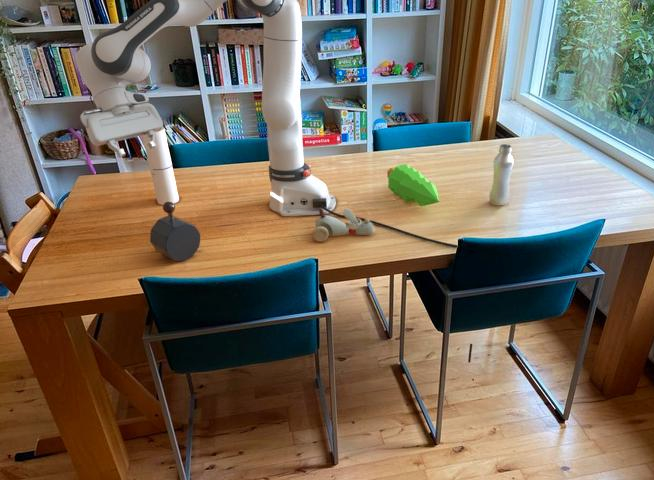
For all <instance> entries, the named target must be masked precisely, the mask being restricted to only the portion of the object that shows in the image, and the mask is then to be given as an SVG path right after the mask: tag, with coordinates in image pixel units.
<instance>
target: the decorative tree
mask: <svg viewBox="0 0 654 480" xmlns="http://www.w3.org/2000/svg"><path fill="white" fill-rule="evenodd" d="M386 171H387V172H386V174H387V175H386V177H387V178H388V181H387V182H388V183H387V184H388V185H387V187H388V189H389V190H390V191H391V192H392V193H393V194H395V195H397V196H398V197H399V198H400V199H402V200H403V201H404V202H405V203H411V202H412V203H415V204H417V205H418V206H419V207H421V208H422V207H425V206H430V205H434V204H436V203H440V199H439V198H440V197H439V193H438V190H437V186H436V185H435V184H434V183H432V181H429V180H428V179H427V178H426V177H425V176H424V175H423V174H422V173H421V172H420V171H417V170H416V169H415V168H414V167H411V166H410V165H409V164H408V163H405V164H400V165H396V166H395V167H390V168H389V169H388V170H386Z"/></svg>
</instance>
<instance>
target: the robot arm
mask: <svg viewBox="0 0 654 480" xmlns="http://www.w3.org/2000/svg"><path fill="white" fill-rule="evenodd" d="M227 1H228V0H149V1H147V3H145V4H144V5H142V6H141V7H140V8H138V10H136V11H135V12H134V13H133V14H132V15H130V16H129V17H128V18H127V19H125V20H124V21H122V23H121V24H119V25H118V26H116V27H114V28H112V29H109V30H107V31H104V32H102V33H101V32H100V33H99V35H97V36H96V37H95V38H94V39H93V42H90V43H87V44H85V45H83V46H81V47H80V48H79V49H78V50H77V52H76V54H75V62H76V66H77V69H78V72H79V74H80V76H81V78H82V81H83V83H84V85H85V86H86V88H87V89H88V90H89V91H90V93H91V96H92V100H93V103H94V104H95V106H96V108H93V109H90V110H89V109H86V110H83V111H82V113H81V114H80V116H79V120H80V121H81V123H82V125H83V126H84V127H85V130H86V133H87V136H88V138H89V140H90V143H91V144H92V145H94V146H95V147H99V146H103V145H107V147H108V148H109V149H110V150H112V151H113V152H114V153H115V154H116V156H117V157H118V159H120V158H124V157H125V156H126V155H127V154H126V152H125V150H124V148H120V147H118V146H117V145H116V143H117V142H119V141H124V140H128V139H132V138H138V137H141V136H142V135H146V134H147V136H148V138H149V137H150V142H149V143H148V146H149V147H150V149H155V148H156V147H157V145H156V143H155V132H158V131H160V130H161V129H162V127H164V121H163V119H162V117H161V115H160V114H159V111H158V110H157V109H156V107H155V106H154V105H153V104H152V103H150V102H149V101H150V98H149V96H148V95H147V94H145V93H139V92H132V91H128V90H127V89H126V86H127V87H128V86H132V85H136V84H138V83H142V82H144V81H145V80H146V79H147V78H148V77H149V76H150V74H151V72H152V60H151V59H150V56H149V55H148V53H146V51H145V50H143V49H142V48H140V47H141V46H142V45H144V44H145V43H146V42H147V41H148V40H150V39H151V38H152V37H153V36H155V35H156V34H157V33H158V32H159V31H161V30H162V29H164V28H167V27H172V26H173V27H175V26H177V27H178V26H180V27H186V28H193V27H197V26H198V25H200V24H202V23H203V22H205V21H206V20H207V19H208V18H209V17H211V16H212V15H213V13H214V12H216V10H217V9H219V7H220V6H221V5H222V4H224V3H225V2H227ZM235 1H236V2H238V3H239V4H240V5H241V6H242V7H243V8H245V9H248V10H249V11H252V12H254V13H257V14H260V15H261V17H262V23H263V68H262V86H261V87H262V88H261V114H262V118H263V119H264V122H265V123H266V129H267V130H266V131H267V132H266V133H267V136H266V137H267V150H268V159H269V165H268V176H269V181H270V197H269V204H268V207H269V209H271V210H272V211H274V212H276V213H278V214H279V215H280V216H281V217H297V216H298V217H299V216H317V215H318V216H319V215H320V212H319V209H320V208H321V209H322V210H323V212H324V214H325V215H328V214H331V215H334V216H336V217H339V218H343V219H347V218H346V217H345V216H344V215H343V214H341V213H336V212H335V211H333V210H334V209H335V208H336V205H337V200H336V199H337V198H336V197H335V196H334V195H333V194H330V193H329V189H328V186H327V184H326V182H324V181H322V180H321V179H319V178H317V177H316V176H315V175H313V174H312V173H311V171H312V170H311V167H312V166H311V163H309V164H307V163H305V160H304V159H305V158H304V144H303V121H302V104H301V101H302V100H301V76H302V54H303V53H302V51H303V23H302V19H303V18H302V11H301V6H300V2H299V1H298V0H235ZM142 137H143V136H142ZM355 217H356V218H359V219H360V220H361V221H362V222H365V219H366V218H363V217H359V216H355ZM369 222H371V223H372V224H373V225H376V226H380V227H383V228H387V229H389V230H393V231H395V232H399V233H401V234H404V235H408V236H410V237H413V238H416V239H420V240H423V241H426V242H430V243H434V244H439V245H442V246H446V247H450V248H456V249H458V248H457V245H458V244H452V243H449V242H443V241H440V240H435V239H432V238H428V237H424V236H421V235H417V234H416V233H415V234H414V233H412V232H408V231H406V230H402V229H400V228H396V227H394V226H392V225H391V226H390V225H388V224H384V223H381V222H378V221H374V220H371V219H369ZM472 350H473V343H470V344H469V351H468V359H467V363H468V364H470V363H471V362H472V361H471V360H472Z"/></svg>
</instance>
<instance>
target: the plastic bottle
mask: <svg viewBox="0 0 654 480" xmlns="http://www.w3.org/2000/svg"><path fill="white" fill-rule="evenodd" d="M511 153H512V145H510V144H505V143H504V144H500V145H499V149H498V154H497V155H496V156H495V157H494V159H493V164H492V165H493V175H492V176H493V178H492V184H491V189H490V191H489V195H488V199H489V202H490V203H491V204H492V205H494V206H504V205H506V204H507V203H508V202H509V198H510V179H511V174H512V170H513V167H514V158H513V156H512V155H511Z"/></svg>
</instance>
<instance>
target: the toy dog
mask: <svg viewBox="0 0 654 480" xmlns="http://www.w3.org/2000/svg"><path fill="white" fill-rule="evenodd" d="M319 212H320V216H318V217H317V218H316V220H315V228H314V229H313V231H312V235H313V239H314V240H315V241H317V242H321V243H323V242H326V241H327V240H328V238H329V237H339V236H344V235H348V234H349V235H351V236H353V235H359V236H371V235H373V233H374V232H375V226H374V224H373V223H371V222H369V220H370V219H369V218H367V217H366V218H364V219H365V221H362V220H360V219H359V218H360V217H359V218H356V217H357V216H356V215H355V214H354V212H353V210H352V209H350V208H344V210H343V211H342V213H343V214H342V215H344V216H345V217H346V218H345V219H347V220H348V221H346V222H343V221H341V220H340V219H338V218H336V217H334V216H331V215H328V214H324V212H323V210H322V209H321V208H320V209H319Z"/></svg>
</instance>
